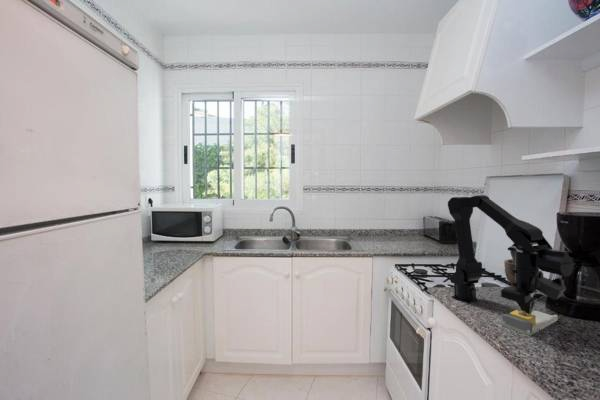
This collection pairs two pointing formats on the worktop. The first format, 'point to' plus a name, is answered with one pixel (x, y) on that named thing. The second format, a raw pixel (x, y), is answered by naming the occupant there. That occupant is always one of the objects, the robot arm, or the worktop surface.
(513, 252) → the mortar and pestle
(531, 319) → the carriage
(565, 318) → the worktop surface
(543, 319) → the rail
